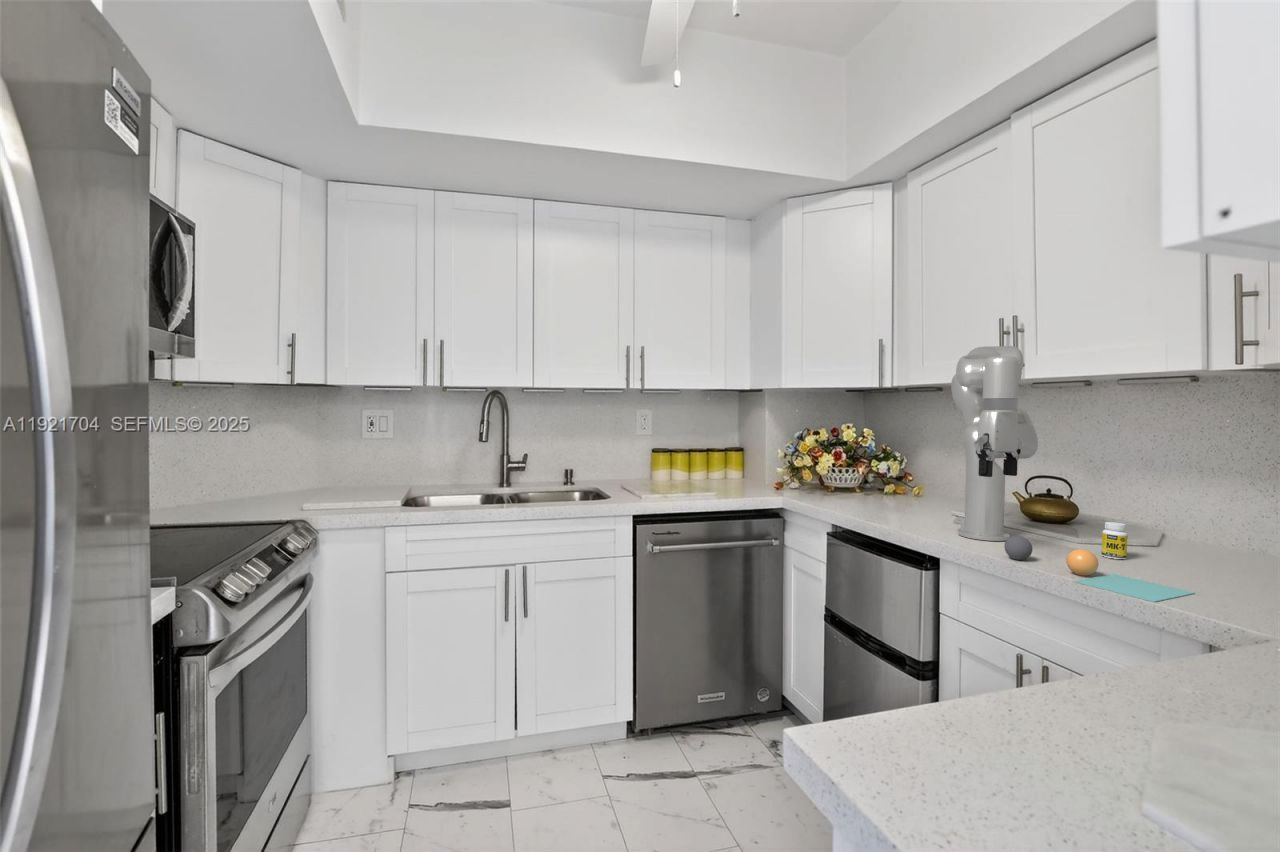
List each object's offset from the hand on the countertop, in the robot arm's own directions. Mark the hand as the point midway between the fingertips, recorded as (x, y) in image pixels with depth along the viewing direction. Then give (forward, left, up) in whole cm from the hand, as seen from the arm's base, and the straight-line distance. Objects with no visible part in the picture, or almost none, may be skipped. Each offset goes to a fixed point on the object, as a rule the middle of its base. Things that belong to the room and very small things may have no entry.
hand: (997, 476), depth 148 cm
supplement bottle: (+14, +22, -19) cm, 33 cm away
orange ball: (+21, -2, -16) cm, 27 cm away
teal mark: (+30, -2, -19) cm, 36 cm away
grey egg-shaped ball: (+7, -2, -16) cm, 18 cm away
